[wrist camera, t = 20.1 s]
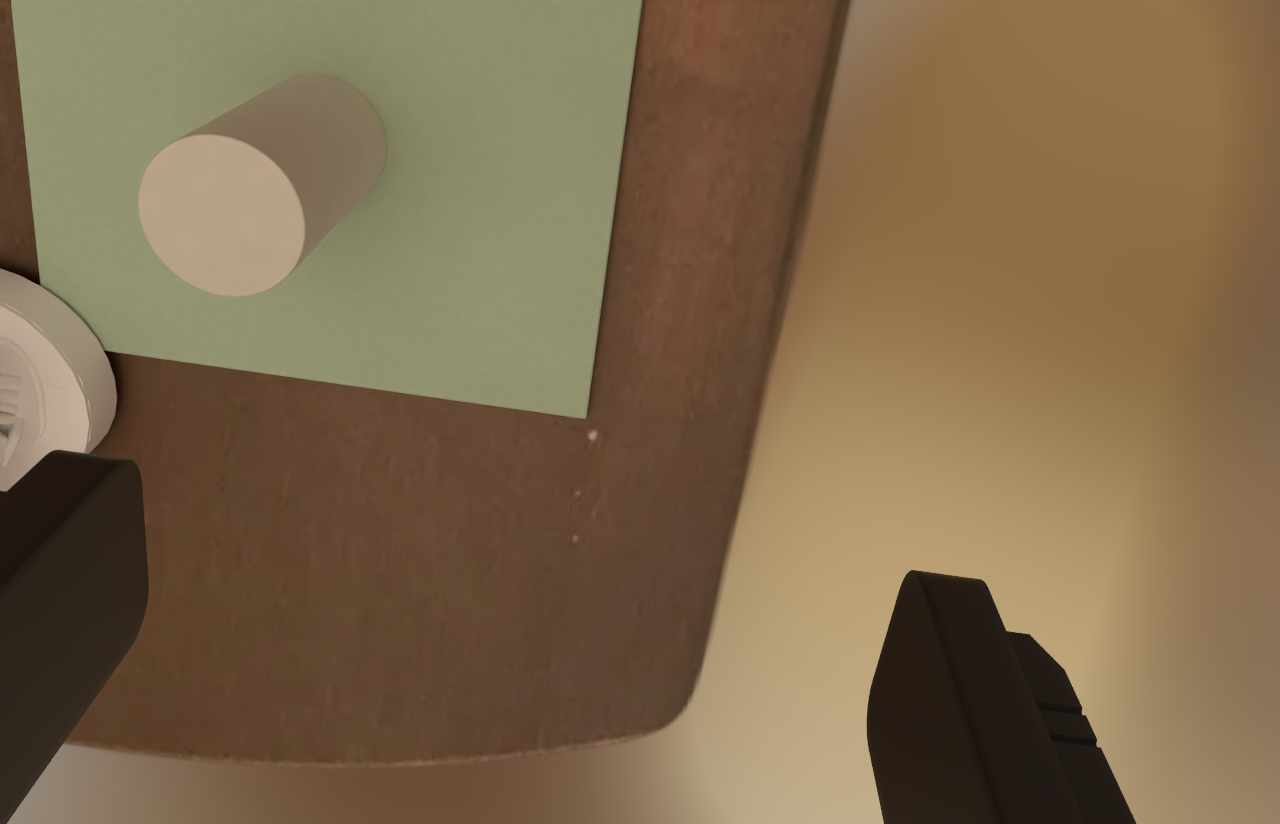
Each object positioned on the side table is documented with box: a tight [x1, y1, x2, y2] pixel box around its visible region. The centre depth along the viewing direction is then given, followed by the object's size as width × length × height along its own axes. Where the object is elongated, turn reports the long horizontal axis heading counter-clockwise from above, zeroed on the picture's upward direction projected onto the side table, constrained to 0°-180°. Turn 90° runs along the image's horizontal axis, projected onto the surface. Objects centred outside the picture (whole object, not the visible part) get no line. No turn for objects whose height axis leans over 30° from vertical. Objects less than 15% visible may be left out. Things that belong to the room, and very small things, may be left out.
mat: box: [11, 0, 643, 419], centre depth 38 cm, size 20×16×1 cm
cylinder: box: [138, 74, 387, 297], centre depth 33 cm, size 4×4×9 cm
